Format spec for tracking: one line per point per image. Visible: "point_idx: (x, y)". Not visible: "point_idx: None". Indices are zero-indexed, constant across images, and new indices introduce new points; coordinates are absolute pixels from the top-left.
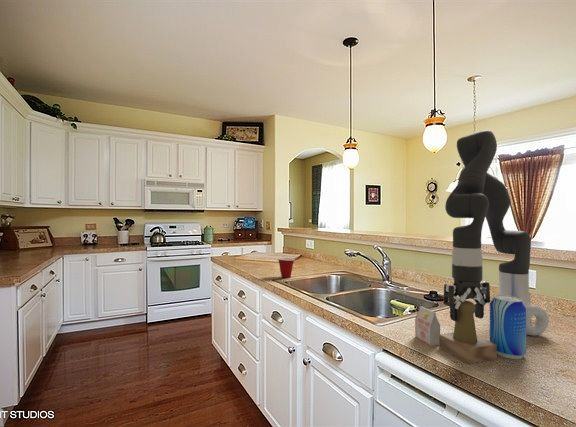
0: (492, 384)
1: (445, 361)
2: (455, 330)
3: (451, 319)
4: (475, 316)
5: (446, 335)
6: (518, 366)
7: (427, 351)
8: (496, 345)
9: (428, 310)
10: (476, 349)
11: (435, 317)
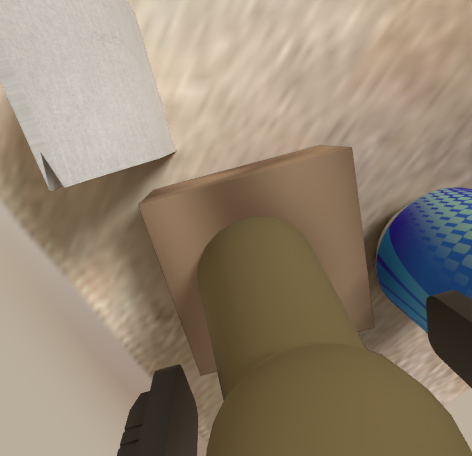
0: (207, 433)
1: (123, 314)
2: (204, 298)
3: (157, 371)
4: (428, 299)
5: (176, 224)
6: (375, 338)
7: (75, 229)
8: (371, 324)
9: (1, 77)
10: None
11: (95, 165)
